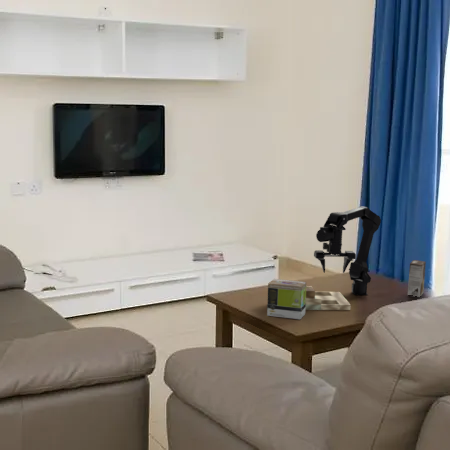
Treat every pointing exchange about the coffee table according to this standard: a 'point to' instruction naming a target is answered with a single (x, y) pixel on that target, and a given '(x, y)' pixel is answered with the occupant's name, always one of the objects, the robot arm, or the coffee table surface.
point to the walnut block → (310, 293)
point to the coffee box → (416, 278)
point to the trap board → (327, 301)
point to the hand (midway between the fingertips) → (333, 272)
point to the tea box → (286, 298)
